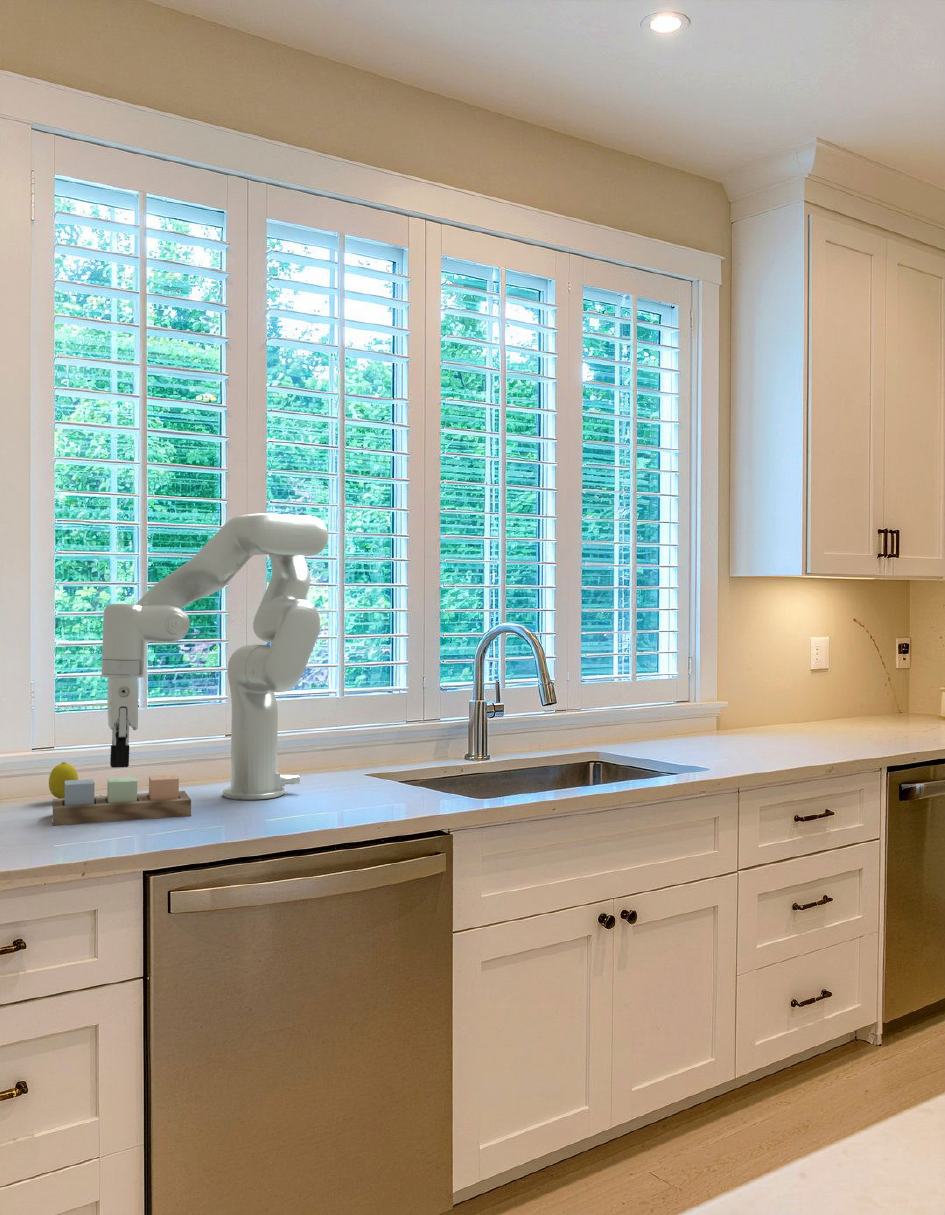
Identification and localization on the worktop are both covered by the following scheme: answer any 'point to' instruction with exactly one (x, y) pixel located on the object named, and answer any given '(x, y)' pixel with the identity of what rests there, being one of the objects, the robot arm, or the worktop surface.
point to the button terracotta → (163, 787)
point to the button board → (120, 809)
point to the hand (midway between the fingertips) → (119, 766)
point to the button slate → (79, 792)
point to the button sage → (121, 789)
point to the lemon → (61, 778)
